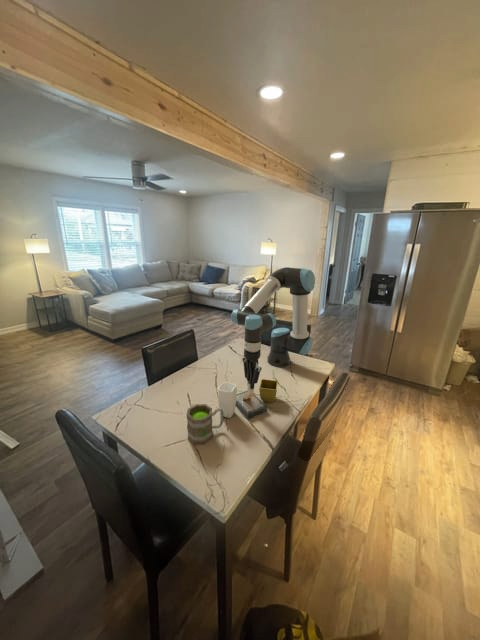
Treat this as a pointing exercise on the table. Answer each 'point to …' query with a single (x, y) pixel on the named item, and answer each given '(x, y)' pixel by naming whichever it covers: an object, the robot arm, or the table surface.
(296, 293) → the robot arm
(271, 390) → the flower pot
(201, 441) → the mug
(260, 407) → the panel
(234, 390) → the cup
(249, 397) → the paddle
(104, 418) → the table surface
